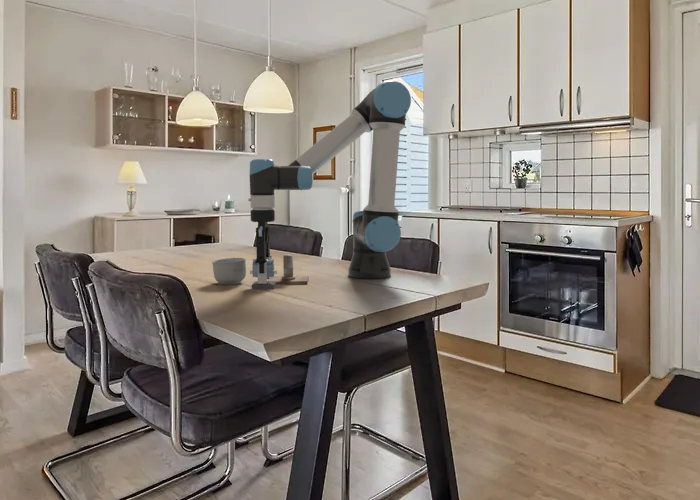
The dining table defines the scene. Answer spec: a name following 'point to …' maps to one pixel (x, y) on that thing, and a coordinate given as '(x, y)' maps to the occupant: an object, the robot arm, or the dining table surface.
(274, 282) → the coaster
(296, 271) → the dining table surface
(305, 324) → the dining table surface
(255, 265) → the cap
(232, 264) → the teacup
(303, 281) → the post board
